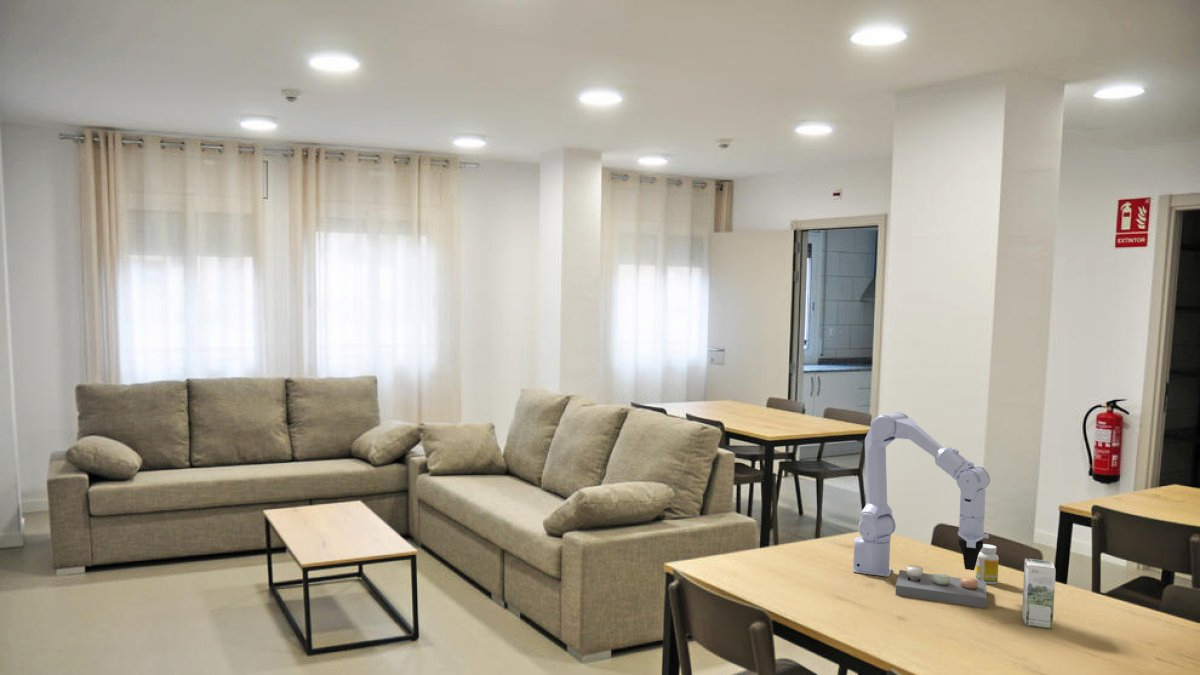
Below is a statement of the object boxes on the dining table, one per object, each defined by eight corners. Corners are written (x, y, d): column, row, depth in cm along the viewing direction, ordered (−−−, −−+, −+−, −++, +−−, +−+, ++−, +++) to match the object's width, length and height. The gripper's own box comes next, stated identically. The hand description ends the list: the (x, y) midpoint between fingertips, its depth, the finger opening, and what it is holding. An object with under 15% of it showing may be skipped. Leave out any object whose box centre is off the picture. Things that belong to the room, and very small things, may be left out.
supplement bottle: (971, 580, 228) (973, 545, 228) (981, 577, 232) (983, 542, 231) (991, 586, 224) (993, 550, 224) (1001, 582, 228) (1002, 546, 227)
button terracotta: (960, 595, 214) (960, 580, 214) (960, 590, 218) (960, 576, 217) (977, 597, 212) (978, 583, 212) (977, 592, 216) (977, 578, 216)
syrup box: (1048, 621, 199) (1051, 559, 199) (1053, 630, 194) (1055, 566, 193) (1021, 617, 201) (1024, 556, 201) (1025, 626, 195) (1028, 563, 195)
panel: (895, 594, 215) (895, 585, 215) (899, 579, 228) (899, 569, 228) (986, 608, 207) (987, 598, 207) (985, 591, 220) (985, 581, 220)
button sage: (932, 591, 216) (932, 577, 216) (932, 586, 220) (933, 572, 220) (949, 593, 215) (949, 579, 215) (949, 588, 219) (950, 574, 218)
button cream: (905, 582, 219) (905, 568, 219) (906, 578, 223) (906, 564, 222) (922, 584, 217) (922, 570, 217) (922, 580, 221) (923, 566, 221)
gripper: (990, 524, 206) (987, 579, 206) (988, 511, 219) (986, 563, 220) (958, 520, 209) (956, 575, 209) (958, 508, 222) (956, 559, 223)
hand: (969, 569), depth 215 cm, fingers closed
